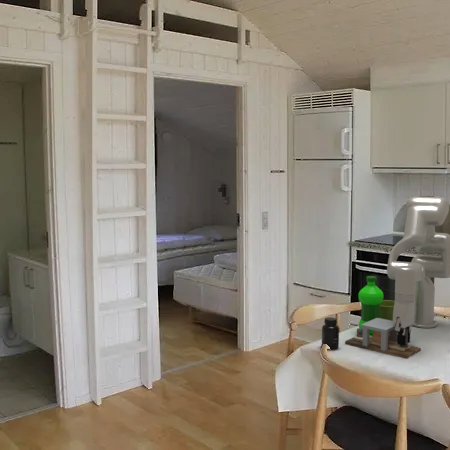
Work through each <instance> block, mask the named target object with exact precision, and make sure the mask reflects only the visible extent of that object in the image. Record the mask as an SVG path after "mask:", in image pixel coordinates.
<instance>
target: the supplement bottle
mask: <svg viewBox="0 0 450 450" xmlns="http://www.w3.org/2000/svg"><path fill="white" fill-rule="evenodd" d="M337 320H338V319H337V318H335V317H331V316H330V317H325V318H324V322H323V325H321V346H322V345H323V344H327V345H328V346H329V347H330V349H331V350H330V351H336V350H338V349H339V345H340V342H339V341H340V327H339V325H337V324H338V321H337Z"/></svg>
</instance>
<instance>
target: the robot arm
mask: <svg viewBox="0 0 450 450" xmlns="http://www.w3.org/2000/svg"><path fill="white" fill-rule="evenodd" d="M406 209H407V213H406V220H405V227H404V232H403V237H402V239H400V240H398V242H397V243H396V244H395V245H394V246H393V248H392V249H391V251H390V253H389V255H388V260H387V267H386V274H387V277H388V279H390V280H394V281H395V283H394V301H395V304H394V310H393V322H392V325H393V326H394V327H395V326H396V327H395V331H397V335H398V336H397V344H399V345H404V346H405V345H406V335H405V328H408V344H410V343H411V332H412V327H415V328H422V329H423V328H424V329H429V328H430V329H431V328H432V329H433V328H435V327H437V326H438V322H437V321H436V320H434V319H435V317H436V315H437V314H436V312H435V293H436V292H435V291H436V289H435V283H434V284H433V282H432V281H431V279H430V278H429V277H434V279H449V278H450V234H449V233H445V232H436V229H435V228H436V227H438V226H442V225H443V224H444V222H445V220H446V218H447V217H448V215H449V211H450V202H449V200H448V199H447V198H446V197H442V196H441V197H440V196H437V197H436V196H412V197H409V198H408V199H406ZM411 249H415V251H416V252H418V253H419V255H416V256H414V257H413V258H412V259H411V261H400V260H399V261H397V260H398V257H400V255H401V254H402V253H404V252H406V251H408V250H411ZM420 253H421V254H423V255H421V254H420ZM424 254H428V255H424ZM436 255H440V256H436ZM400 326H401V327H400ZM401 329H403V331H402V330H401Z"/></svg>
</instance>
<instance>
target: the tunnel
mask: <svg viewBox="0 0 450 450" xmlns="http://www.w3.org/2000/svg"><path fill="white" fill-rule="evenodd" d="M392 322H393V321H391V320H386V319H380V318H375V319H373V320H371V321H368V322H366V323H364V324H361V328H363V343H362V345H364V346H369V341H370V330H375V331H379V332H381V350H385V351H386V350H388V332H389V331H390V341H395V342H397V336H398V335H397V331H395V327H396V326H395V327H394V326H393V325H392ZM400 327H402V326H400Z"/></svg>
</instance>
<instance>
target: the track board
mask: <svg viewBox="0 0 450 450" xmlns="http://www.w3.org/2000/svg"><path fill="white" fill-rule="evenodd" d="M362 343H363V342H361V341H357V340H353V337H350V338H349V339H347V340H344V344H345V345H348V346H351V347H352V346H353V347H357V348H360V349H365V350H368V351H374V352H376V353H381V354H385V355H388V356H389V355H390V356H393V357H399V358H402V359H406V360H407V358H408V359H409V358H411V357H413V356H414V355H416V354H418V353H420V352H421V351H422V348H421V347H419V346H415V345H411V348H409V349H407V350H405V351H400V350H396V349H391V348H388V350H386V351H385V350H381V346H378V345H374V344H370V343H369V346H364V345H362Z"/></svg>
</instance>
